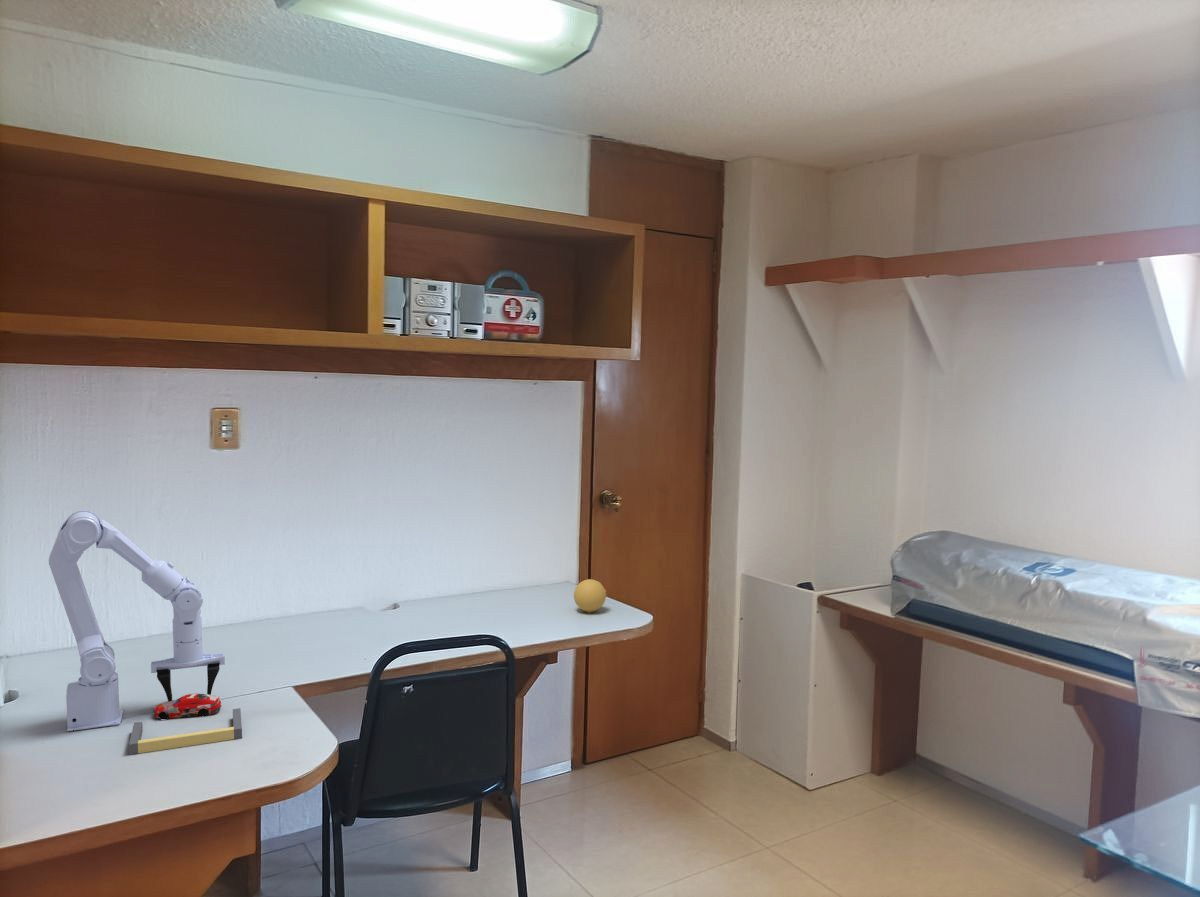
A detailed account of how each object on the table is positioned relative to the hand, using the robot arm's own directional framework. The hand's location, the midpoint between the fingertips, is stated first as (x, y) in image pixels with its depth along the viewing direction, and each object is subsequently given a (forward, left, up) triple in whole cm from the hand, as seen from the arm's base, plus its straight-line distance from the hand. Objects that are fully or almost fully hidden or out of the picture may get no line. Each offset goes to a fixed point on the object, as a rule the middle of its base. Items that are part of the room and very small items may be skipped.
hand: (189, 699), depth 192 cm
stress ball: (+111, +37, -2) cm, 117 cm away
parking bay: (0, -17, -1) cm, 17 cm away
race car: (0, -4, -2) cm, 5 cm away
